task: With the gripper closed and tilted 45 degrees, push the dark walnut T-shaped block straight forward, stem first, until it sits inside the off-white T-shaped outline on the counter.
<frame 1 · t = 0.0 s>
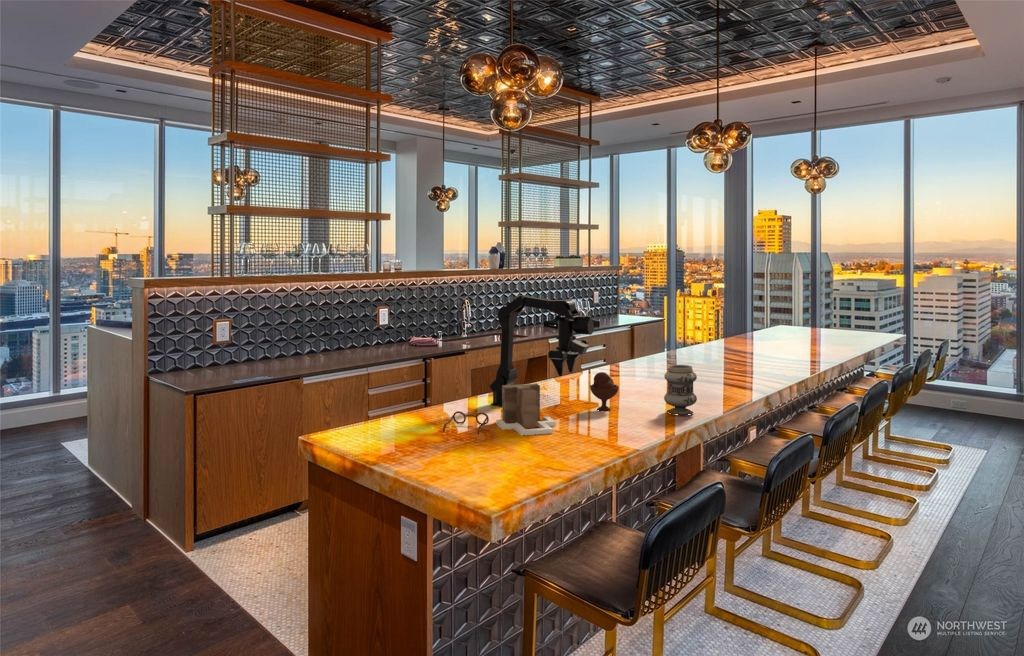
hand: (565, 374, 247), 15 cm above the worktop, tool pointing down, fingers open, 9 cm apart
ice cream bowl: (604, 410, 252), on the worktop
t outline: (525, 424, 231), on the worktop
t block: (521, 420, 236), on the worktop
apothecary jar: (679, 413, 246), on the worktop
glasses: (466, 430, 226), on the worktop
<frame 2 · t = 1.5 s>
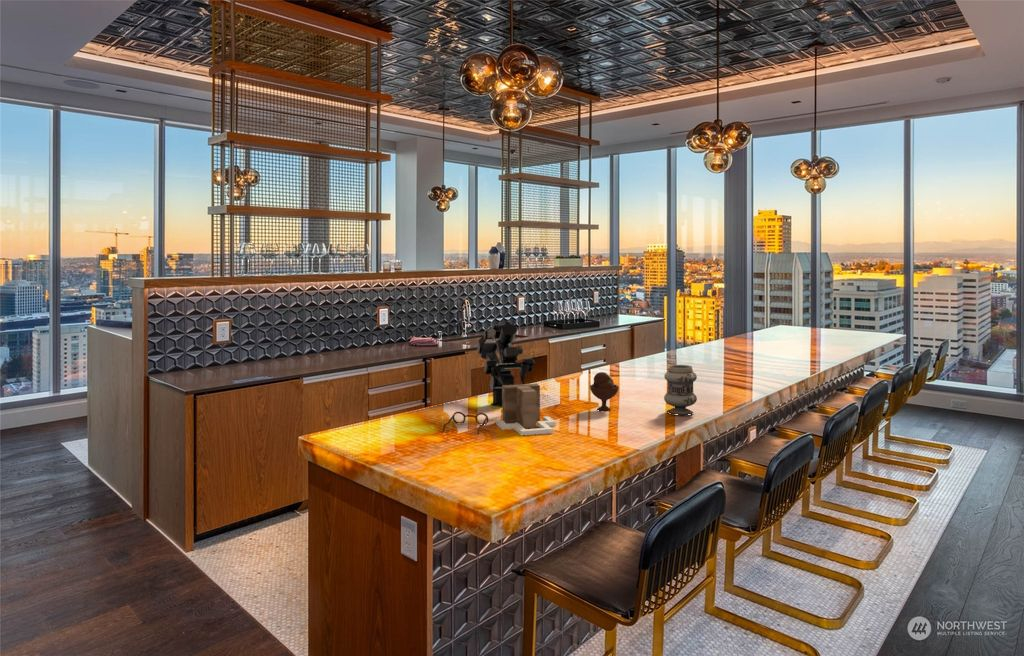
hand: (513, 384, 244), 11 cm above the worktop, tool tilted 45°, fingers open, 7 cm apart
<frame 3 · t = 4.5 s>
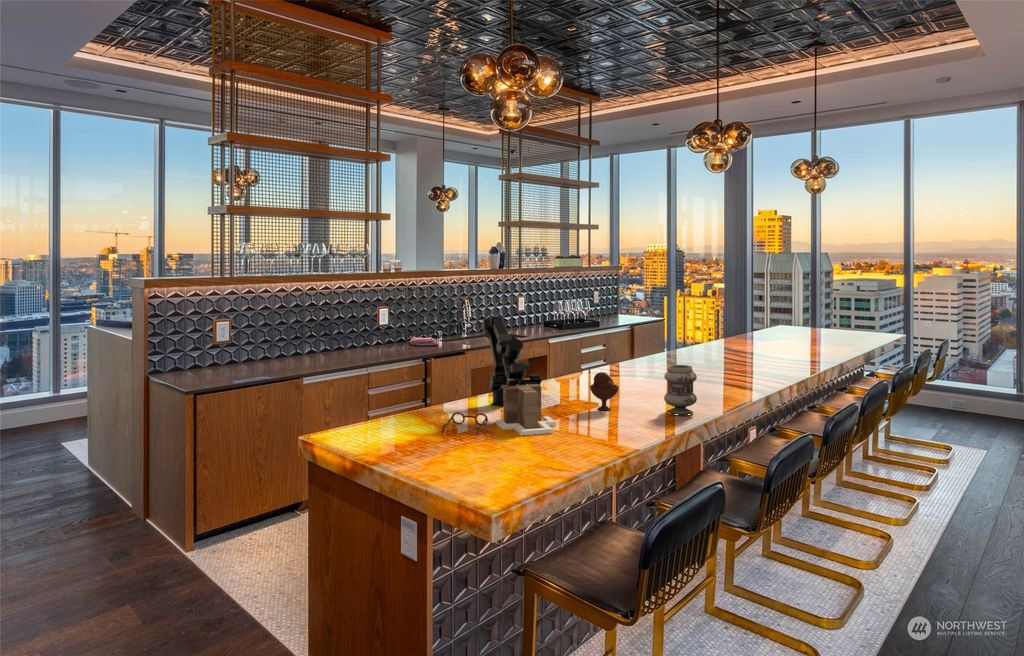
hand: (520, 401, 236), 7 cm above the worktop, tool tilted 45°, fingers closed, pressing on t block
t block: (522, 421, 234), on the worktop, touching gripper
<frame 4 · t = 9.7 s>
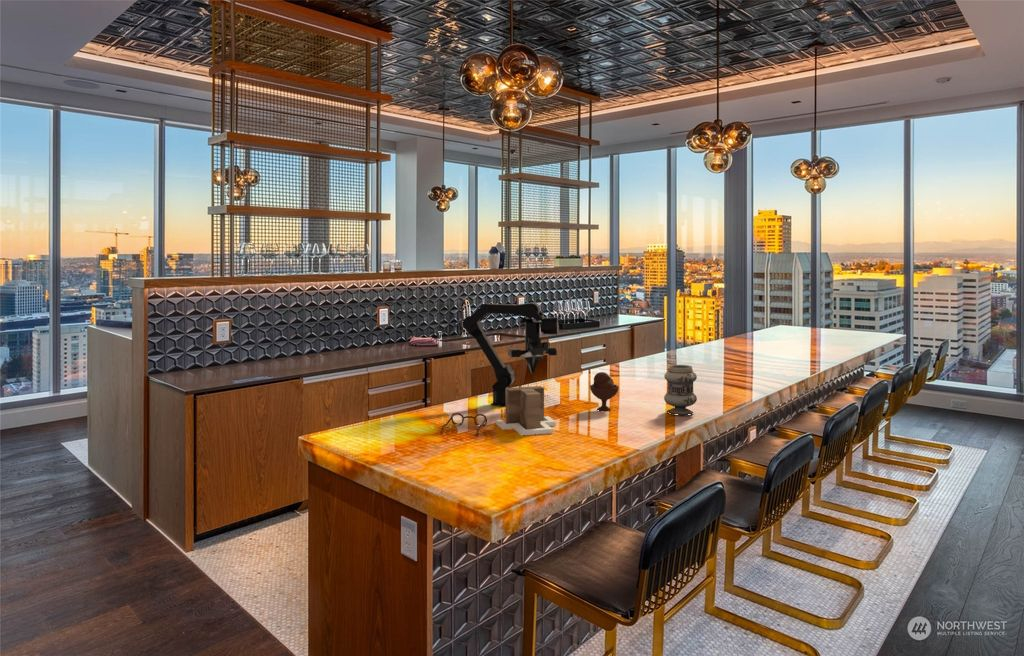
hand: (532, 373, 259), 13 cm above the worktop, tool pointing down, fingers closed
t block: (524, 424, 231), on the worktop
at the end: t block 0.2 cm from the t outline (horizontally); t block tilted 0° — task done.
